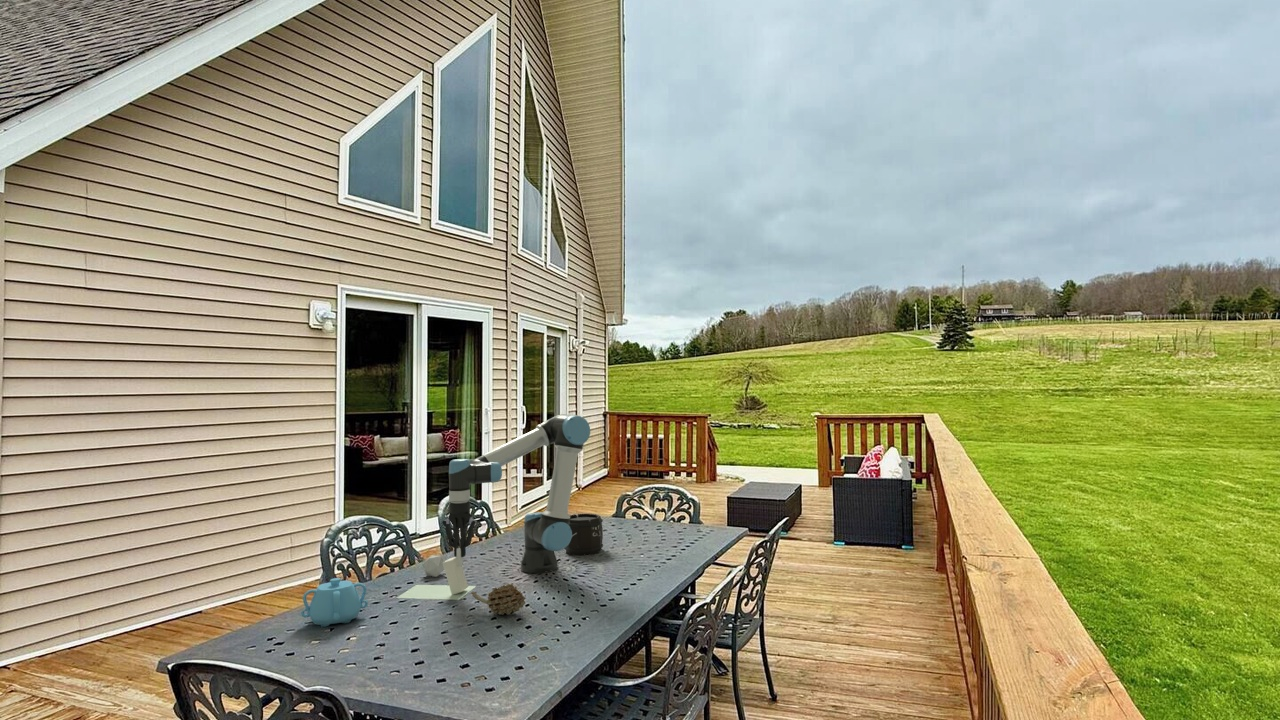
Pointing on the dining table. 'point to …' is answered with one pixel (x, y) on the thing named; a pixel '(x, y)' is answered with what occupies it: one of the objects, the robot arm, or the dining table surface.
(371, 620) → the dining table surface
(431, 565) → the die
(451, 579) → the beige rectangular block
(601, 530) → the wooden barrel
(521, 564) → the robot arm
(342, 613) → the decorative pot
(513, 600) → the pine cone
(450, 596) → the green mat
